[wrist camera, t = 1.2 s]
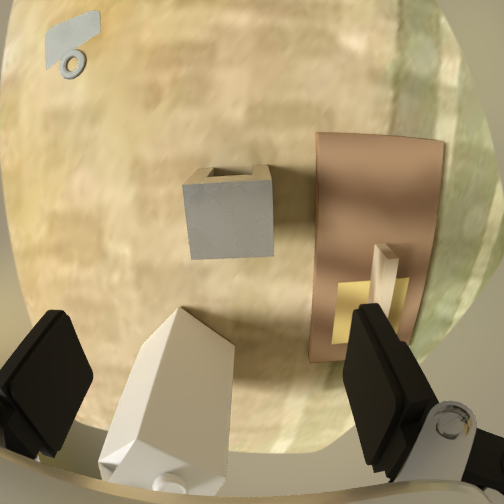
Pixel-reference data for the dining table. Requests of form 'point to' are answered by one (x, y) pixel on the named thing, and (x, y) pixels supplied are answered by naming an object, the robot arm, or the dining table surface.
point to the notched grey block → (229, 214)
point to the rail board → (371, 232)
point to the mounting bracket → (70, 41)
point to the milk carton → (174, 412)
